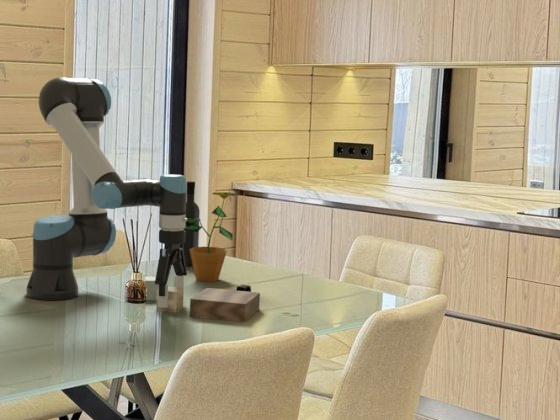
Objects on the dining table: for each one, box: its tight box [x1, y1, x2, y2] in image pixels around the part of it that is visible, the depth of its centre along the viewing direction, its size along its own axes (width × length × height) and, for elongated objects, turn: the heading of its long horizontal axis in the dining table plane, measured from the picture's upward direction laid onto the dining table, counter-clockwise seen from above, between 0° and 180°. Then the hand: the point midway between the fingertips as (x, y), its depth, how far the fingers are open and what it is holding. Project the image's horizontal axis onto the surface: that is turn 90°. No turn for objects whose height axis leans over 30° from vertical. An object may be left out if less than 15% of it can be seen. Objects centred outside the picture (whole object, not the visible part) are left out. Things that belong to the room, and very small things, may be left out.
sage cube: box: [144, 276, 158, 301], centre depth 289 cm, size 6×6×6 cm
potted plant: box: [185, 192, 237, 282], centre depth 319 cm, size 18×19×30 cm
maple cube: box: [155, 286, 184, 313], centre depth 275 cm, size 6×6×6 cm
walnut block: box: [189, 287, 261, 322], centre depth 274 cm, size 16×16×5 cm
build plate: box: [235, 284, 252, 292], centre depth 293 cm, size 12×7×5 cm, turn 151°
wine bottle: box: [183, 180, 201, 267], centre depth 343 cm, size 6×6×30 cm
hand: (170, 302), depth 275 cm, fingers open, 13 cm apart
